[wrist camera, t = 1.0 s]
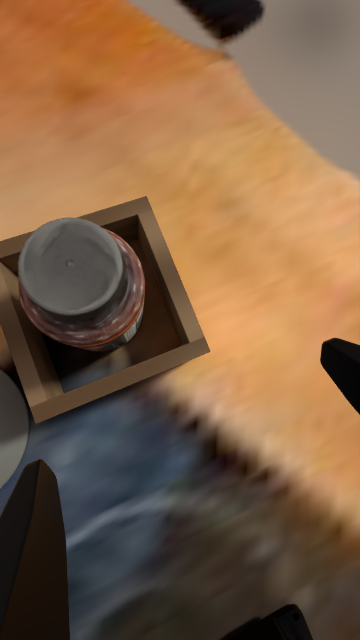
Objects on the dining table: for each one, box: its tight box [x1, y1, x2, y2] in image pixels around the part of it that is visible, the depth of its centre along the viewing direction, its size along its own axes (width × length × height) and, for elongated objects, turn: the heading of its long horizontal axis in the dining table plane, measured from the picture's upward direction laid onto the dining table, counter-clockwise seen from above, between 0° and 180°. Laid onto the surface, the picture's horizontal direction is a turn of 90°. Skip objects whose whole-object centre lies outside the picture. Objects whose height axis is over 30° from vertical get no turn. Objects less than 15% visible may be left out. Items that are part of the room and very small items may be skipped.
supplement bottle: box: [18, 218, 145, 352], centre depth 18 cm, size 6×6×11 cm
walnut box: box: [0, 196, 210, 424], centre depth 21 cm, size 11×11×4 cm
